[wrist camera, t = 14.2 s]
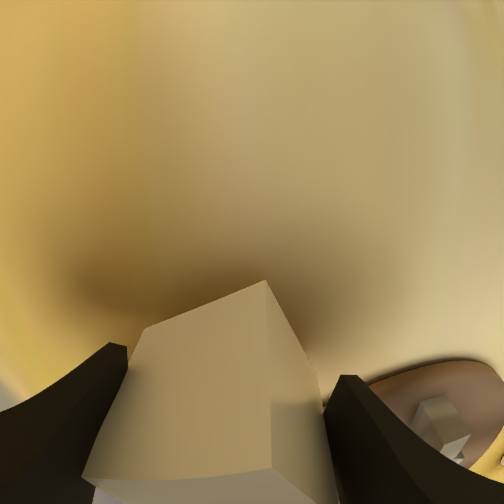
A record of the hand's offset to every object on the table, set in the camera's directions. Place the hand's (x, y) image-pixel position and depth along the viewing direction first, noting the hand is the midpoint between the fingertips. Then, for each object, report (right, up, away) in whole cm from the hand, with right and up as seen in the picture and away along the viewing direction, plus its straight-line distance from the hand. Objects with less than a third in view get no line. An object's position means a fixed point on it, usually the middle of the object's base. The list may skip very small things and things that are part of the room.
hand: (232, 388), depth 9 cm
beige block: (-1, 0, +2) cm, 3 cm away
